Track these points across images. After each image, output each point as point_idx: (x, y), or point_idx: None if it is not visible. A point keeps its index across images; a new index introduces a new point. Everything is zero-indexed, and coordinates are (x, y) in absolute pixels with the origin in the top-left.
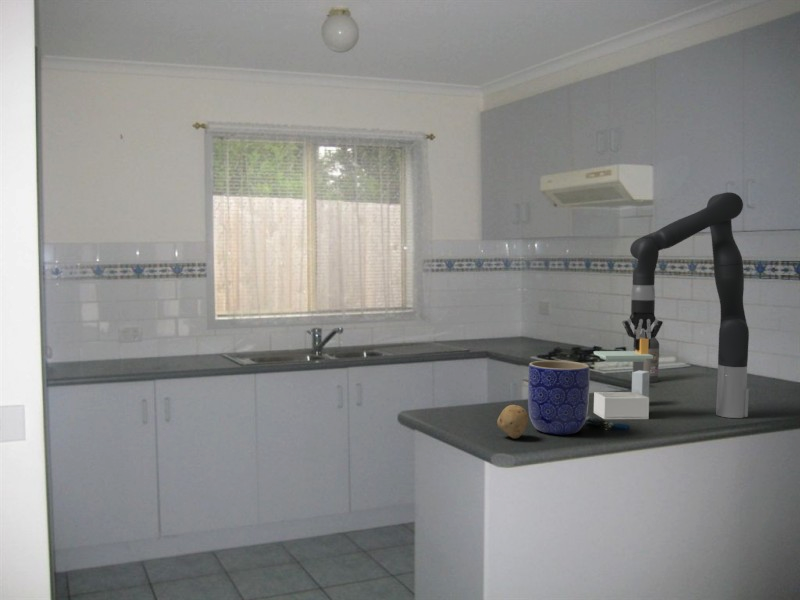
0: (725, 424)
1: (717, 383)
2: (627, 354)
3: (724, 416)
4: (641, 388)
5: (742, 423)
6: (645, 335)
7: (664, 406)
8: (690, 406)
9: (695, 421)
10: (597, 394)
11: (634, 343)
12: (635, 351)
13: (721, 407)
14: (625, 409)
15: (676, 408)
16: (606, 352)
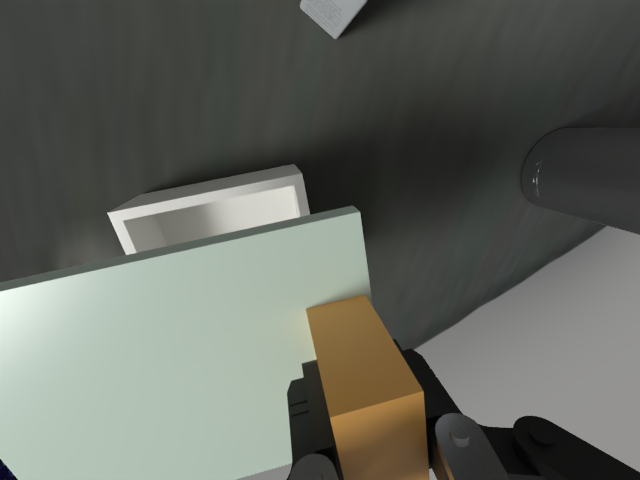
0: (487, 281)
1: (624, 180)
2: (225, 436)
3: (528, 198)
4: (350, 14)
5: (531, 261)
6: (450, 467)
7: (421, 24)
8: (512, 12)
9: (430, 262)
10: (126, 253)
11: (293, 432)
12: (306, 315)
13: (545, 196)
14: None
15: (449, 64)
16: (42, 378)
